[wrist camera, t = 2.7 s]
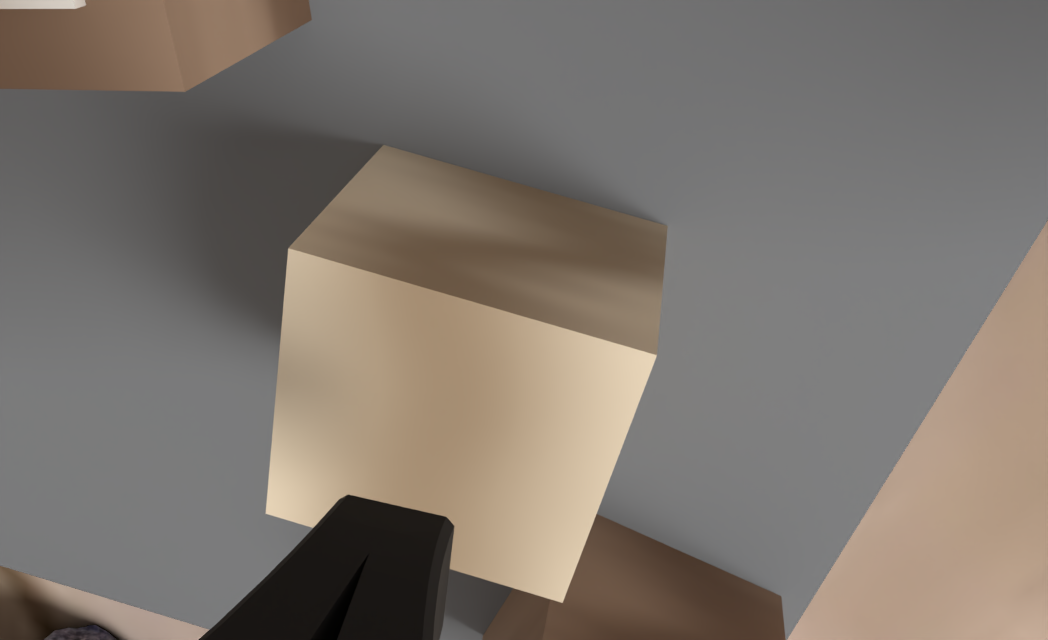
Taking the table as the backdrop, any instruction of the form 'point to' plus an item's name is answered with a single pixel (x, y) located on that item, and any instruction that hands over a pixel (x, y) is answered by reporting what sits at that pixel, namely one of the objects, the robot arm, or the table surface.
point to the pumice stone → (81, 634)
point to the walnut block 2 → (642, 597)
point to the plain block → (465, 360)
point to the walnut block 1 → (135, 41)
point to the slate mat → (550, 165)
